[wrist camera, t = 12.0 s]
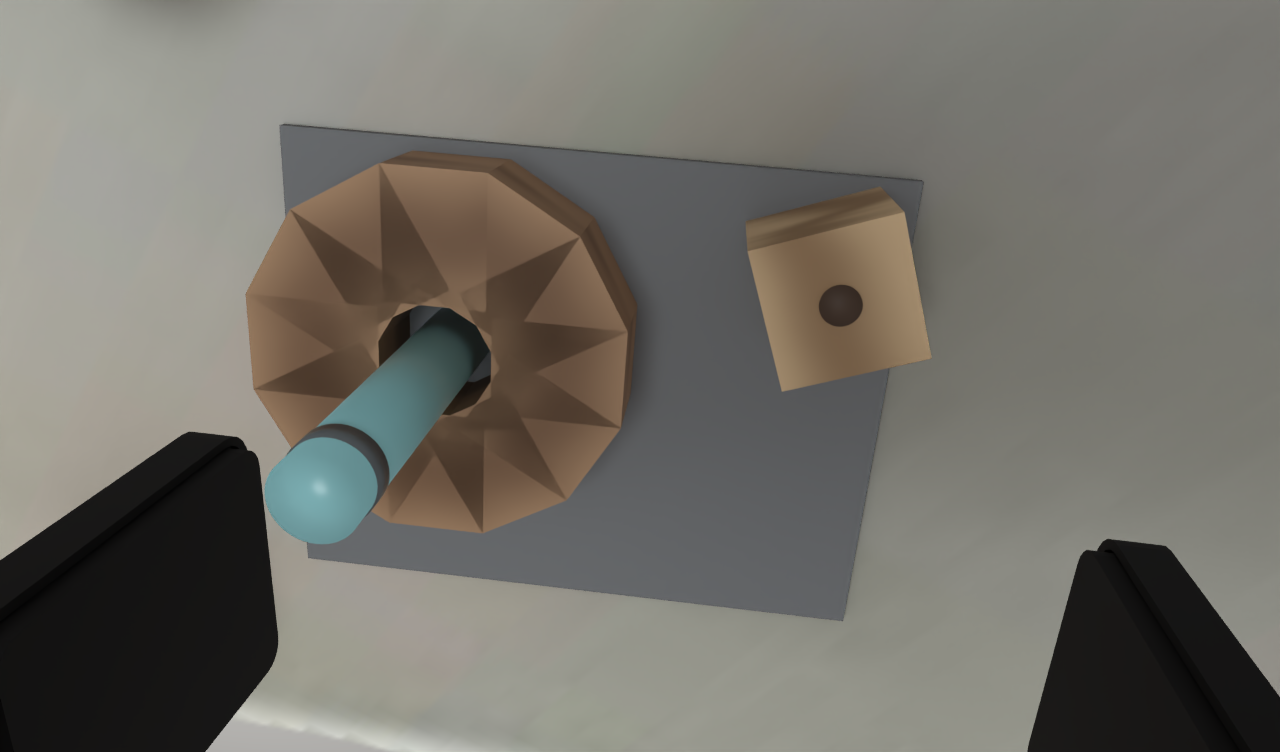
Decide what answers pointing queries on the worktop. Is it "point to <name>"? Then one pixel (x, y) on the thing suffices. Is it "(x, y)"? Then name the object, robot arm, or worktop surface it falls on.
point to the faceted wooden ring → (478, 291)
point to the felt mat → (665, 397)
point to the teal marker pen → (372, 432)
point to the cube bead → (838, 288)
